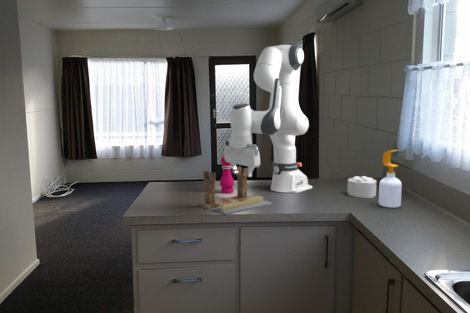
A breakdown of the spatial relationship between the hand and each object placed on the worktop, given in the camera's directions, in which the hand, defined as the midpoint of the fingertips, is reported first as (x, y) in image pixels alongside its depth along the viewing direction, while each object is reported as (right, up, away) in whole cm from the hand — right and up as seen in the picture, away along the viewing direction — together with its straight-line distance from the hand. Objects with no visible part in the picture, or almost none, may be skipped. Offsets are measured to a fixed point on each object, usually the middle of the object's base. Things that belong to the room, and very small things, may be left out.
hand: (242, 175), depth 185 cm
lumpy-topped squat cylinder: (+58, -11, +25) cm, 64 cm away
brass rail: (0, -13, +2) cm, 13 cm away
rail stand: (-7, -13, +10) cm, 18 cm away
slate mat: (+1, -14, +2) cm, 14 cm away
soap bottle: (+64, -14, +5) cm, 66 cm away
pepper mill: (-7, -10, +32) cm, 34 cm away
